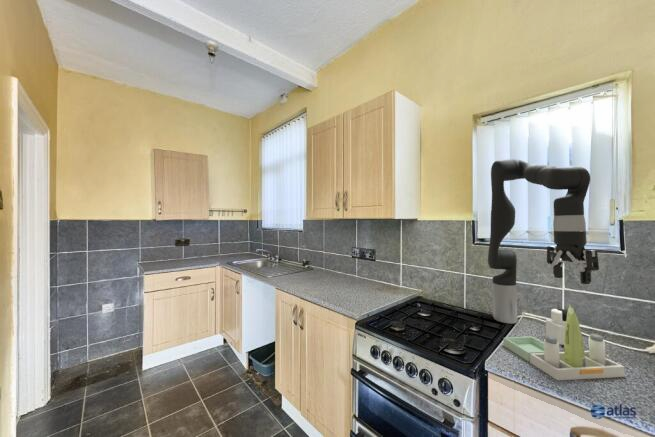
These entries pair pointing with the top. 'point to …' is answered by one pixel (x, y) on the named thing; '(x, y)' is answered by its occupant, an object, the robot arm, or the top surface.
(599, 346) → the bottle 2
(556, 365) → the bottle
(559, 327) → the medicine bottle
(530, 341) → the tray
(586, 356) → the holder
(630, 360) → the top surface
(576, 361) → the tube
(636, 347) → the top surface
